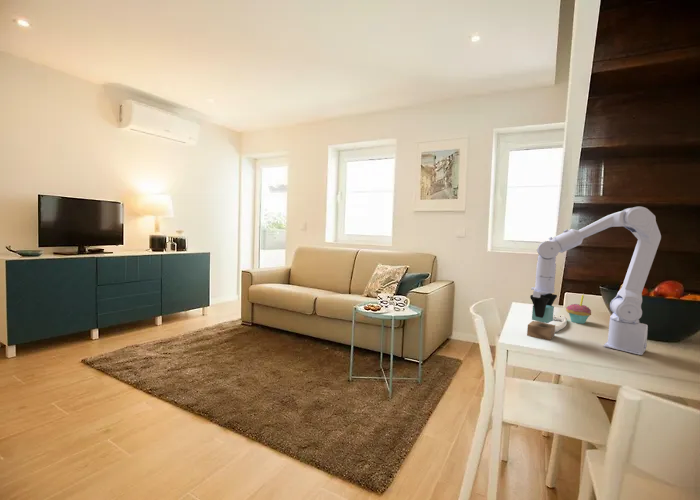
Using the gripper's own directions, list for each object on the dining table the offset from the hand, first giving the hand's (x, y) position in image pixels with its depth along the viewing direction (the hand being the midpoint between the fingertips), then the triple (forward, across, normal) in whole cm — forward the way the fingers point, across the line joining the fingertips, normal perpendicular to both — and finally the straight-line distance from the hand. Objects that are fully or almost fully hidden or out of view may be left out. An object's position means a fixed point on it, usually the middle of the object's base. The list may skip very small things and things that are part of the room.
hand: (542, 315), depth 119 cm
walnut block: (+7, 0, 0) cm, 7 cm away
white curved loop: (+8, -18, -2) cm, 20 cm away
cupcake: (+7, -32, +3) cm, 33 cm away
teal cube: (+2, 0, 0) cm, 2 cm away
